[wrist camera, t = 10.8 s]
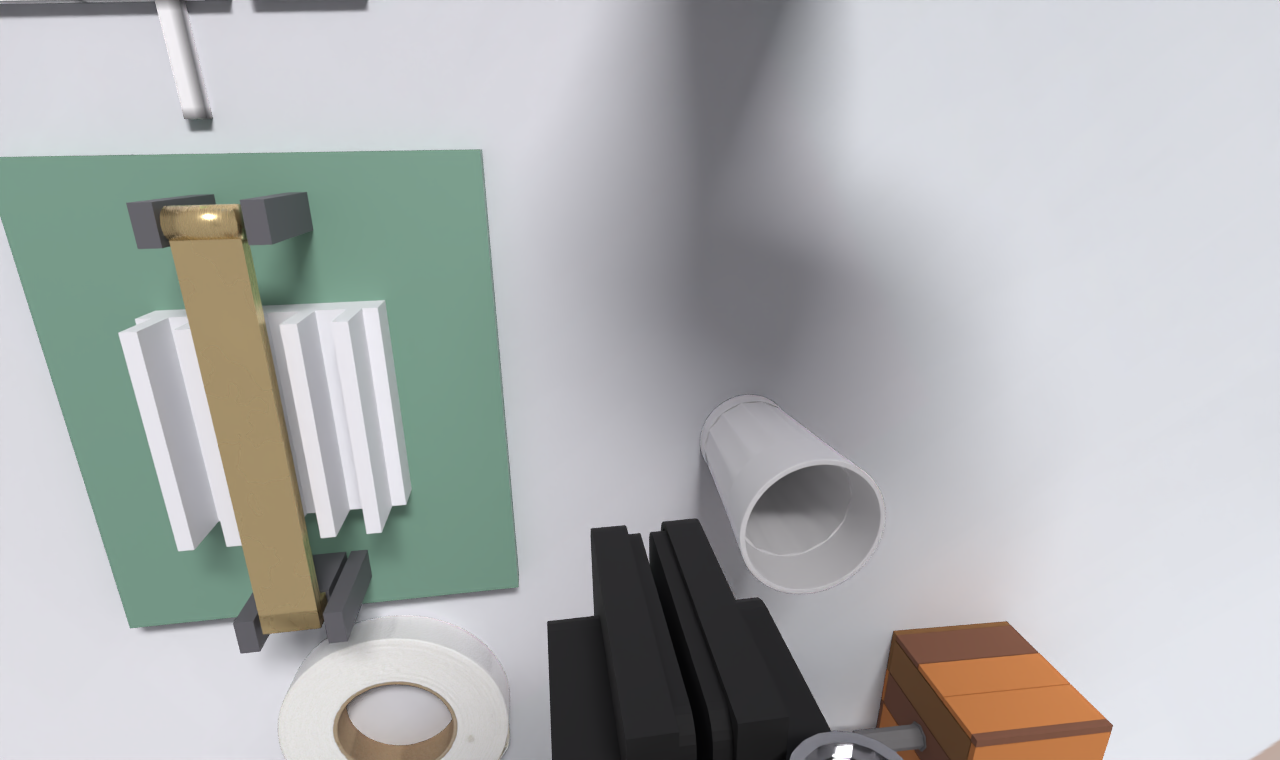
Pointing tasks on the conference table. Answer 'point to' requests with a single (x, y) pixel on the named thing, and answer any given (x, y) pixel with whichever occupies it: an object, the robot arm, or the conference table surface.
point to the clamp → (982, 700)
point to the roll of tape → (398, 654)
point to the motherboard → (279, 370)
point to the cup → (790, 497)
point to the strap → (246, 410)
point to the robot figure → (171, 52)
